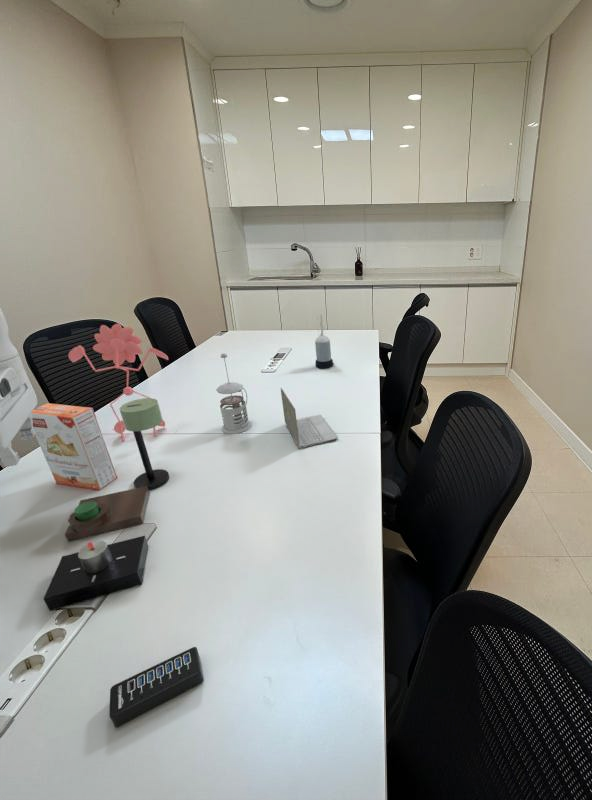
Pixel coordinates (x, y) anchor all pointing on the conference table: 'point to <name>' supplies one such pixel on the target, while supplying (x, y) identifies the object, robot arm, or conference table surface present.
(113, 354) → the figurine
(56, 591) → the dimmer panel
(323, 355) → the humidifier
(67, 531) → the brown green button box
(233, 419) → the french press
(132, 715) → the multiport hub
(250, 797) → the conference table surface
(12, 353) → the robot arm
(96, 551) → the dimmer knob
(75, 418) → the cracker box
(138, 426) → the desk lamp
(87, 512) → the lamp switch
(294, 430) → the laptop
